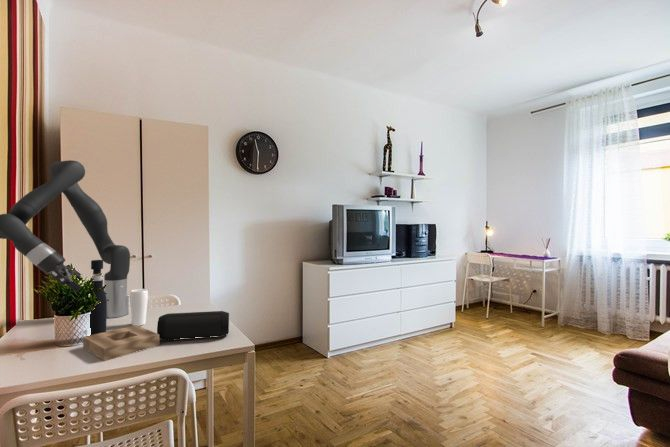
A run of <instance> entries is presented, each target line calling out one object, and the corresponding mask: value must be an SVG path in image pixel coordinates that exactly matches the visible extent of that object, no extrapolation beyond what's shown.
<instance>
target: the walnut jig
mask: <svg viewBox="0 0 670 447" xmlns="http://www.w3.org/2000/svg"><path fill="white" fill-rule="evenodd" d="M82 337H83V340H82V342H83V343H82V348H83V349H84V350H85V351H87V352H89V353H91V354H92V355H94V356H96V357H97V358H99V359H100V360H102V361H104V362H106V361H109V360H112V359H116V357H117V358H119V357H124V356H126V354H127V355H130V354H129V353H131V354H134V353H133V352H135V353H137V352H136V351H138V352H140V351H139V350H142V351H144V350H143V349H145V350H147V349H146V348H149V349H151V348H150V347H152V348H154V347H153V346H156V347H158V346H157V345H159V346H160V339H159V334H157V332H154V331H152V330H149V329H146V328H144V327H142V326H137V325H135V326H132V325H131V326H127V327H122V328H118V329H117V328H116V329H113V330H108V331H106V332H103V333H99V334H94V335H90V336H82ZM123 355H124V356H123Z"/></svg>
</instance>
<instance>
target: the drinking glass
mask: <svg viewBox="0 0 670 447" xmlns="http://www.w3.org/2000/svg"><path fill="white" fill-rule="evenodd" d="M129 293H130V294H129V303H130V304H129V305H130V306H129V307H130V314H131V315H130V316H131V326H132V325H133V326H135V325H137V326H138V325H142V326H144V325H145V324H146V323H147V321H146V320H147V312H148V311H147V310H148V301H149V291H148V289H146V288H136V289H132V290H130V292H129ZM143 324H144V325H143Z"/></svg>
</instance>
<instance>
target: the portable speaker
mask: <svg viewBox="0 0 670 447" xmlns="http://www.w3.org/2000/svg"><path fill="white" fill-rule="evenodd" d="M156 326H157V328H156V333H157V334H159V340H163V341H166V340H167V341H175V340H174V339H180V338H195V337H210V336H222V335H224V336H227V335H229V334H228V333H229V331H230V312H228V311H224V310H217V311H216V310H214V311H213V310H211V311H193V312H192V311H191V312H178V313H177V312H176V313H175V312H173V313H166V314H163V315H160V316H159V317H158V319H157V324H156ZM226 334H227V335H226ZM222 337H223V336H222Z"/></svg>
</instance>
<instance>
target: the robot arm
mask: <svg viewBox="0 0 670 447" xmlns="http://www.w3.org/2000/svg"><path fill="white" fill-rule="evenodd" d="M48 169H49V174H50V177H51V179H49V180H48V181H47V182H45V183H43V184H42V185H39V186H38V187H36V188H34V189H32V190H30V191H29V192H28V193H26V194H25V195H23V196H22V197H21V198H20V199H19V200H17V202H16V203H14V204H13V205H12V207H11V209H10V210H9V211H8V213H2V214H0V239H3V240H4V239H5V240H7V239H9V240H10V241H11V243H12V244H13V247H14V248H15V249H16V250H17V251H18V252H19V253H21V254H22V255H23V256H24V257H25V258H27V259H28V261H29V262H30V263H32V265H34V266H36V267H37V268H38V269H40V270H41V271H42V272H43V273H44V274H46V275H50V277H52V279H54V280H55V281H56V282H58V283H59V284H60V285H61V286H66V287H68V288H70V289H71V290H73V291H74V292H76V293H77V292H78V291H79V290H81V289H82V286H80V285H79V284H78V283H77V282H76V281H74V280H72V279H71V275H76V276H77V278H78V279H79V280H81V279H82V278H83V277H82V276H81V275H82V274H81V273H80V272H79V271H78V270H76V269H75V268H74V267H72V265H70V264H67V265H65V264H64V263H65V261H66V258H65V257H64V256H62V255H61V254H60V253H59V252H57V251H56V250H55V249H54V248H52V247H51V246H50V245H48V244H47V243H45V242H44V241H43V240H41V239H40V238H39V236H38V237H37V236H36V235H35V234H34V233H33V232H32V231H31V229H30V228H29V227H28V226H27V224H28V223H29V221H30V220H31V219H33V218H34V217H35V216H37V215H38V214H39V213H40V212H41V211H42V210H43V209H44V208H45V207H46V206H47V205H48V204H49V203H51V202H52V201H53V200H54V199H56V198H57V197H58V196H59V195H61V194H62V193H63V195H64V196H65V198H66V199H67V201H68V203H69V204H70V206H71V207H72V209H73V210H74V212H75V213H76V215H77V217H78V219H79V220H80V222H81V224H82V225H83V227H84V229H85V231H86V232H87V233H88V235H89V237H90V238H91V240H92V241H93V244H94V246H95V247H96V250H97V252H98V254H99V257H100V260H103V263H105V264H107V265H110V266H109V271H107V272H105V274H104V276H103V278H104V280H103V287H104V286H105V285H107V286H106V287H105V289H104V288H103V289H104V291H105V293H107V294H106V298H107V299H110V300H109V301H107V315H106V319H107V318H108V319H109V318H111V319H112V318H121V317H124V316H126V315H129V313H130V311H129V310H130V309H129V308H130V306H129V305H130V304H129V303H130V294H128V275H129V272H130V265H131V253H130V250H129V247H127V246H125V245H120V244H116V243H114V241H113V240H112V238H111V237H110V234H109V231H108V230H109V229H108V219H107V217H106V216H107V215H106V214H105V213H104V210H103V209H102V207H101V206H100V205H99V203H98V202H97V201H95V200H94V199H93V198H92V197H91V196H89V195H88V194H87V193H85V191H84V189H82V187H81V186H80V185H79V182H80V181H82V180H83V179H84V177H85V175H86V169H85V167H84V165H83V164H82V163H81V162H79V161H77V160H71V159H68V160H62V161H55V162H53V163H52V164H51V165H49V168H48ZM71 269H73V270H72V271H70V270H71Z"/></svg>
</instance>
